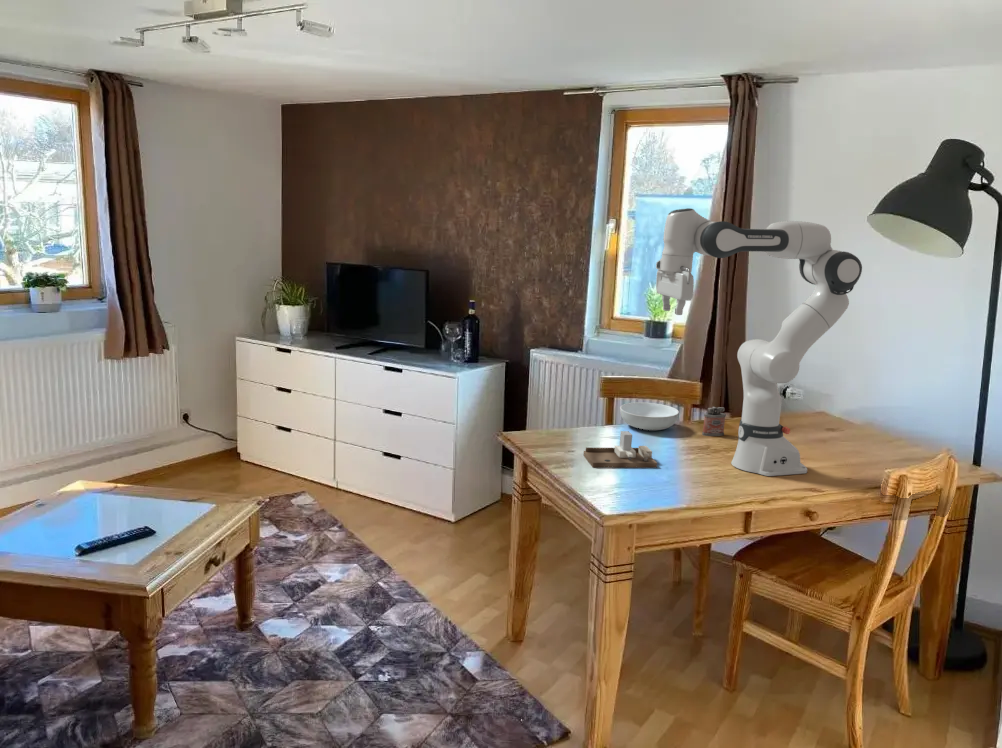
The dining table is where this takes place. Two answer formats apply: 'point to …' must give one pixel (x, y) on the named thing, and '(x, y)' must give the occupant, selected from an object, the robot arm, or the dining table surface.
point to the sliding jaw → (625, 446)
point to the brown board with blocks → (612, 460)
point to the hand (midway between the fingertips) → (672, 312)
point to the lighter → (714, 422)
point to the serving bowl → (649, 415)
